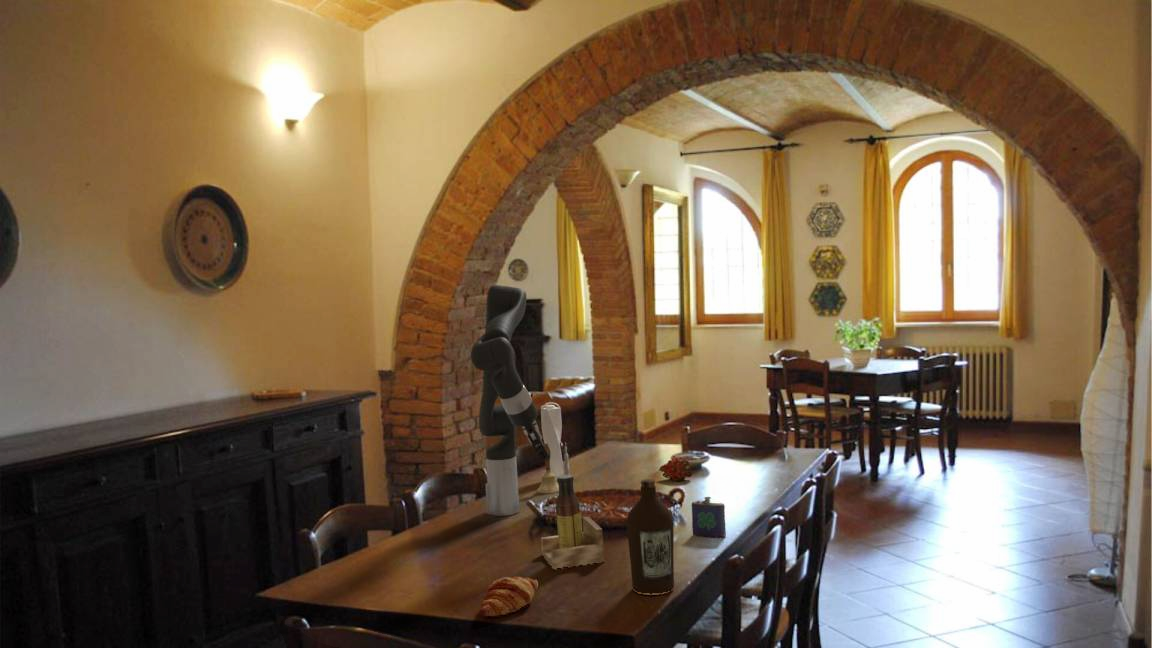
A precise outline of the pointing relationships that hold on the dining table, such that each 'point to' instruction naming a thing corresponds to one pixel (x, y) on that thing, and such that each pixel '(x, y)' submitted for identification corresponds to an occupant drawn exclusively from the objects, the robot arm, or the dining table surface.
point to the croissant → (508, 595)
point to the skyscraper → (554, 438)
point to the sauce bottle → (568, 514)
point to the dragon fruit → (677, 469)
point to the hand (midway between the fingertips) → (542, 450)
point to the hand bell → (548, 477)
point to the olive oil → (651, 542)
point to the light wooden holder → (575, 548)
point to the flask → (708, 519)
